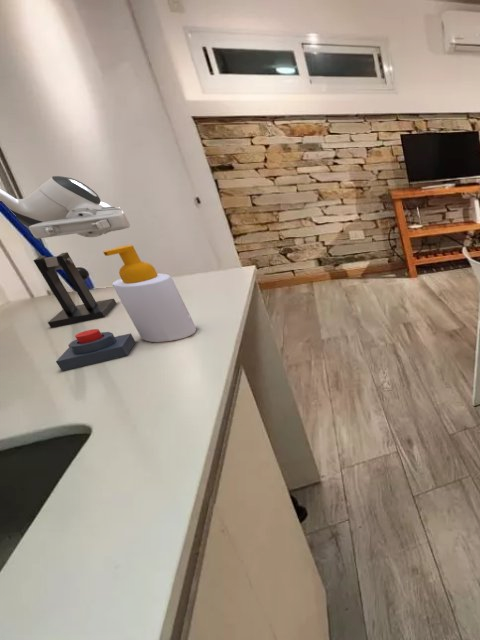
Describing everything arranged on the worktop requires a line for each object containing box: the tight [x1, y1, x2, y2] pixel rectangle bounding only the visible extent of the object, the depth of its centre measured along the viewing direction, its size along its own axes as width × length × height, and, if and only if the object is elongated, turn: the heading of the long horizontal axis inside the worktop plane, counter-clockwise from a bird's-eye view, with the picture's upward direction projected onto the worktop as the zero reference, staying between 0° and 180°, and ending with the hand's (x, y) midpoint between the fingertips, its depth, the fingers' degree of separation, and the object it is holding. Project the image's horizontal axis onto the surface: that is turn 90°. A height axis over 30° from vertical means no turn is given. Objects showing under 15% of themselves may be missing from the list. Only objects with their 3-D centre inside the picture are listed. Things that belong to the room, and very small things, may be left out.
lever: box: [44, 255, 90, 281], centre depth 122 cm, size 14×4×4 cm, turn 30°
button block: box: [55, 331, 136, 372], centre depth 98 cm, size 10×8×4 cm
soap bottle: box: [102, 244, 197, 343], centre depth 103 cm, size 13×8×20 cm, turn 73°
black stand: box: [33, 251, 117, 329], centre depth 119 cm, size 12×10×16 cm
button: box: [74, 328, 103, 344], centre depth 97 cm, size 4×4×2 cm
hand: (73, 229), depth 132 cm, fingers open, 8 cm apart
